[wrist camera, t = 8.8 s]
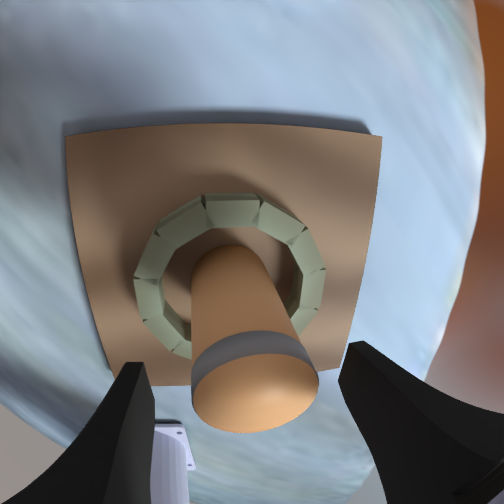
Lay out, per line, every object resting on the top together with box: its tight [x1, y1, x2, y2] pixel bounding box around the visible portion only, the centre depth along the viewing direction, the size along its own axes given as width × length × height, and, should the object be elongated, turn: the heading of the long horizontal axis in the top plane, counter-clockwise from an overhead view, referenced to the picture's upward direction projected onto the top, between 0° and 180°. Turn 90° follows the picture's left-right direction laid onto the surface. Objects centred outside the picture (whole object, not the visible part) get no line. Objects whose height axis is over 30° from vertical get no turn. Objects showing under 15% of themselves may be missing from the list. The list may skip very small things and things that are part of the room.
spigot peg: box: [191, 245, 319, 433], centre depth 12 cm, size 4×4×8 cm
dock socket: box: [65, 123, 382, 386], centre depth 16 cm, size 16×16×2 cm
